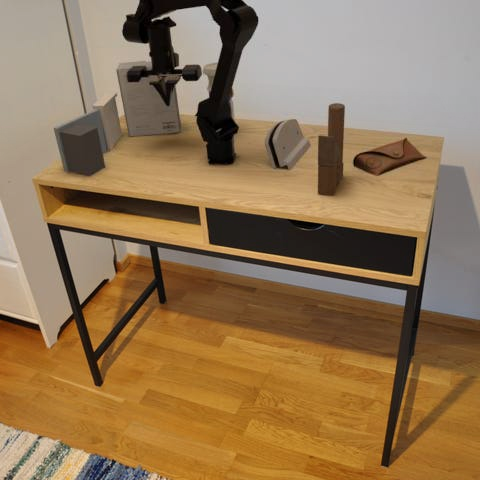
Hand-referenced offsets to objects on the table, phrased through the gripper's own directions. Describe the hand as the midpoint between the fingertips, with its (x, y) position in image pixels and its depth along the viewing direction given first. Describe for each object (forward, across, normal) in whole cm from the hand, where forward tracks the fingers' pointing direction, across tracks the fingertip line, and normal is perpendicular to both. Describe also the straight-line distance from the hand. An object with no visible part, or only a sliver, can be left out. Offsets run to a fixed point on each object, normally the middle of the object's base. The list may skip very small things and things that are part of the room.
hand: (168, 105), depth 148 cm
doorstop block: (+12, +20, +14) cm, 27 cm away
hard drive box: (+12, +9, -13) cm, 20 cm away
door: (+12, +23, +8) cm, 27 cm away
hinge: (+12, -32, +5) cm, 35 cm away
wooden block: (+12, -43, +22) cm, 50 cm away
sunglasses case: (+13, -58, +9) cm, 60 cm away
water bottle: (+12, -12, -11) cm, 20 cm away
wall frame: (+12, +19, -4) cm, 23 cm away
